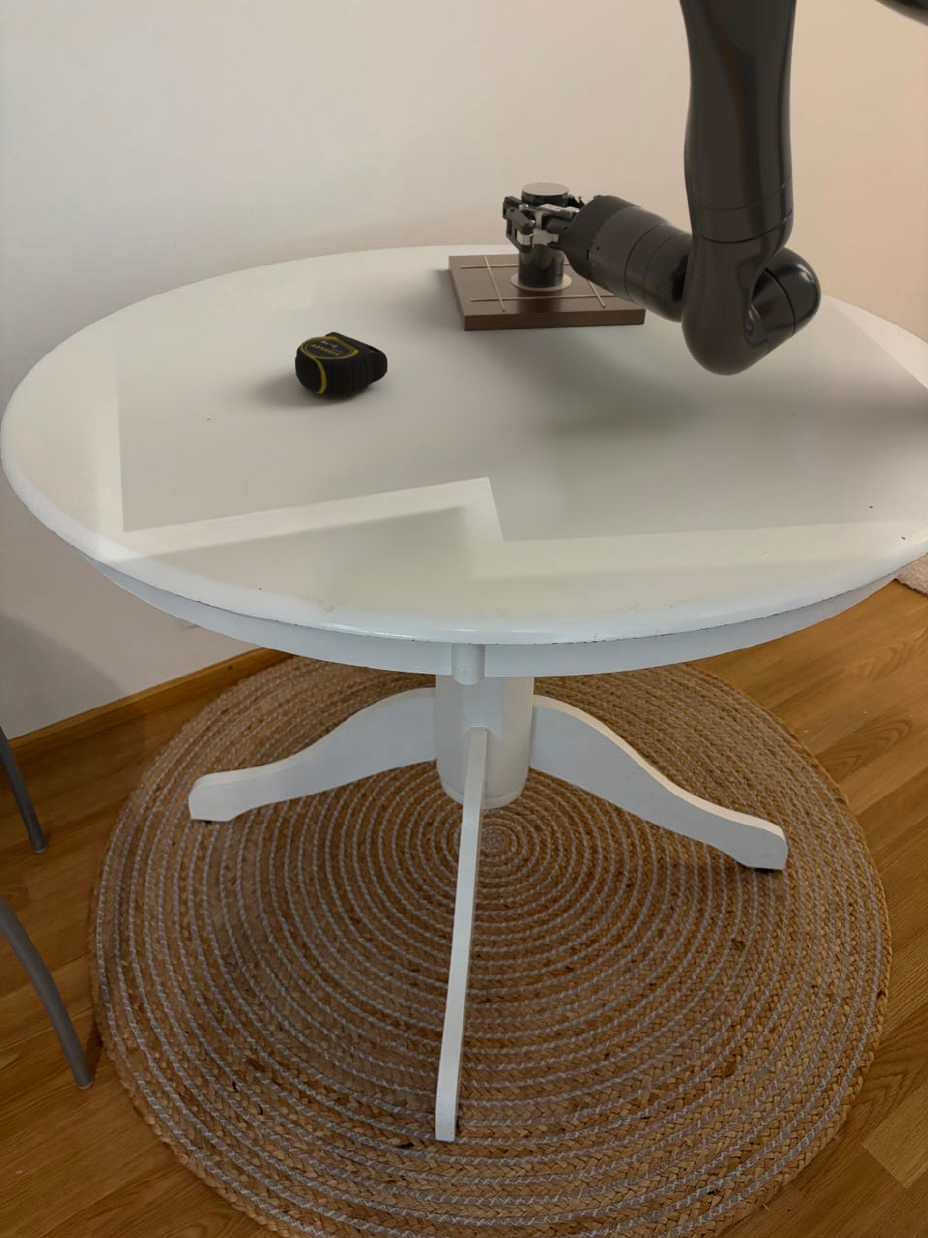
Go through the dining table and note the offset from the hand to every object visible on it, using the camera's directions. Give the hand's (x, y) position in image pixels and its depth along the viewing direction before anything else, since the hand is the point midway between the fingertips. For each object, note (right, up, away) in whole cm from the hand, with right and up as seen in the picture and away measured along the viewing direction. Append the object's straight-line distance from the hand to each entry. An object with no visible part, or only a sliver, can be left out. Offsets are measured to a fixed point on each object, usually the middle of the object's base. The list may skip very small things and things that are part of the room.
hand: (530, 203), depth 97 cm
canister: (+1, -7, +3) cm, 7 cm away
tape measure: (-18, -22, -14) cm, 31 cm away
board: (+1, -8, +4) cm, 9 cm away
